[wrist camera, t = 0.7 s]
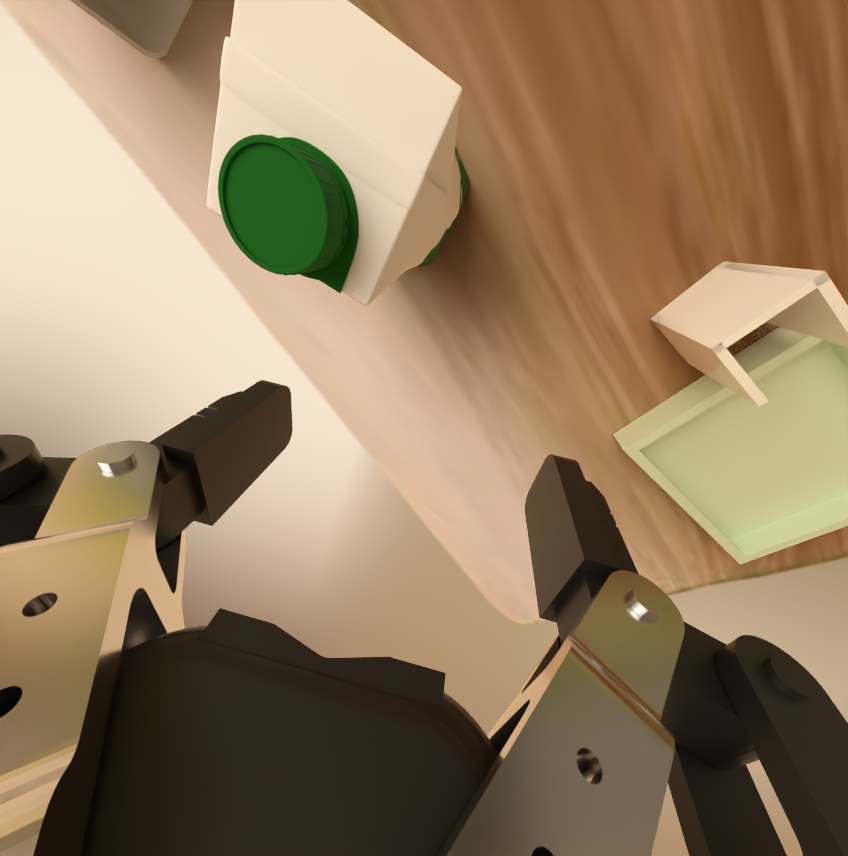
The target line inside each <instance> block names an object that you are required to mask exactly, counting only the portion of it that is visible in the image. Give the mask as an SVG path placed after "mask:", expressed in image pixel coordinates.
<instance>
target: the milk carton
mask: <svg viewBox="0 0 848 856" xmlns="http://www.w3.org/2000/svg"><path fill="white" fill-rule="evenodd" d="M220 81H221V85H220V93H219V101H218V109H217V117H216V126H215V134H214V142H213V151H212V159H211V168H210V176H209V185H208V194H207V203H206V205H207V206H208V208H209V209H210V210H212V211H213V212H215V213H216V214H218V215H220V216H221V217H223V219H224V222H225V224H226V227H227V229H228V231H229V233H230V235H231V236H232V238H233V240H234V241H235V243H236V244H237V245H238V247H239V248H240V249H241V251H242V252H243V253H244V254H245V255H246V256H247V257H248V258H249V259H250V260H252V261H253V262H254V263H255V264H257V265H258V266H260V267H261V268H263V269H266V270H268V271H270V272H273V273H276V274H283V275H296V274H301V275H303V276H305V277H308V278H312V279H317V280H320V281H322V282H323V283H325V284H326V285H328V286H329V287H331V288H333V289H334V290H336V291H337V292H339V293H341V291H343V292H344V293H346V294H347V295H349V296H350V297H352V298H353V299H355V300H356V301H358V302H360V303H361V304H363V305H365V306H367V305H368V304H369V303H370V302H371V301H373V300H374V299H375V298H376V297H377V296H378V295H379V294H380V293H381V292H382V291H384V290H385V289H386V288H387V287H388V286H389V285H390V284H391V283H392V282H394V281H395V280H396V279H397V278H398V277H399V276H400V275H402V274H403V273H404V272H405V271H406V270H409V269H411V268H413V267H419V266H426V265H427V264H428V263H429V262H430V261H431V260H432V259H433V258H434V257H435V255H436V254H437V252H438V250H439V249H440V247H441V245H442V244H443V242H444V240H445V238H446V236H447V235H448V233H449V231H450V229H451V227H452V226H453V224H454V222H455V220H456V218H457V216H458V214H459V211H460V209H461V206H462V203H463V200H464V196H465V193H466V190H467V187H468V184H469V181H470V180H469V177H468V175H467V173H466V170H465V168H464V166H463V163H462V161H461V158H460V156H459V153H458V151H457V148H456V146H455V143H456V134H457V126H458V118H459V109H460V101H461V94H462V87H461V86H459V85H458V84H457V83H455V82H454V81H453V80H452V79H450V78H449V77H448V76H446V75H445V74H444V73H442V72H441V71H440V70H438V69H437V68H436V67H434V66H433V65H432V64H431V63H429V62H428V61H427V60H425V59H424V58H423V57H421V56H420V55H419V54H417V53H416V52H415V51H413V50H412V49H411V48H410V47H408V46H407V45H406V44H404V43H403V42H402V41H400V40H399V39H398V38H396V37H395V36H394V35H392V34H391V33H390V32H389V31H387V30H386V29H385V28H383V27H382V26H381V25H379V24H378V23H377V22H375V21H374V20H373V19H371V18H370V17H369V16H368V15H366V14H365V13H364V12H362V11H361V10H360V9H358V8H357V7H356V6H354V5H353V4H352V3H350V2H349V1H348V0H235V4H234V12H233V19H232V27H231V34H230V38H229V37H227V36H226V37H225V40H224V45H223V52H222V58H221V68H220Z"/></svg>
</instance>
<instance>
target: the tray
mask: <svg viewBox="0 0 848 856" xmlns="http://www.w3.org/2000/svg"><path fill="white" fill-rule="evenodd" d="M733 357H734V359H735V360H736V361H737V362H738V363H739V365H740V366H741V367H742V368H743V370H744V371H745V372H746V373H747V375H748V376H749V377H750V378H751V380H752V381H753V382H754V383H755V385H756V386H757V387H758V388H759V390H760V391H761V392H762V393H763V395H764V396H765V397H766V398H767V400H768V401H769V402H767V403H765V404H763V405H762V406H760V407H758V406H757V405H755V404H753V403H752V402H750V401H748V400H747V399H745V398H744V397H742V396H740V395H739V394H737V393H735V392H734V391H732V390H730V389H729V388H727V387H726V386H724V385H722V384H721V383H719V382H717V381H716V380H714V379H712V378H711V377H709V376H708V375H706V374H705V375H704V376H702V377H701V378H699V379H698V380H696V381H695V382H693V383H691V384H690V385H688V386H687V387H685V388H684V389H682V390H681V391H679V392H678V393H676V394H674V395H673V396H671V397H670V398H668V399H667V400H665V401H664V402H662V403H661V404H659V405H658V406H656V407H654V408H653V409H651V410H650V411H648V412H647V413H645V414H644V415H642V416H641V417H639V418H637V419H636V420H634V421H633V422H631V423H630V424H628V425H627V426H625V427H624V428H622V429H620V430H619V431H617V432H616V433H614V434H613V436H614V437H615V439H616V440H617V442H618V443H619V445H620V446H621V448H622V449H623V450H624V451H625V452H626V453H627V454H628V455H629V456H630V457H631V458H632V459H633V460H634V461H635V462H636V463H637V464H638V465H639V466H640V467H641V468H642V469H643V470H644V471H645V472H646V473H647V474H648V475H649V476H650V477H651V478H652V479H653V480H654V481H655V482H656V483H657V484H658V485H659V486H660V487H661V488H662V489H663V490H664V491H665V492H666V493H667V494H669V495H670V496H671V497H672V498H673V499H674V500H675V501H676V502H677V503H678V504H679V505H680V506H681V507H682V508H683V509H684V510H685V511H686V512H687V513H688V514H689V515H690V516H691V517H692V518H693V519H694V520H695V521H696V522H697V523H698V524H699V525H700V526H701V527H702V528H703V529H704V530H705V531H706V532H707V533H708V534H709V535H710V536H711V537H712V538H713V539H715V540H716V541H717V542H718V543H719V544H720V545H721V546H722V547H723V548H724V549H725V550H726V551H727V552H728V553H729V554H730V555H731V556H732V557H733V558H734V559H735V560H736V561H737V562H738V563H739V564H743V563H746V562H749V561H751V560H754V559H757V558H760V557H762V556H765V555H768V554H771V553H773V552H776V551H779V550H782V549H784V548H787V547H790V546H793V545H796V544H798V543H801V542H804V541H807V540H809V539H812V538H815V537H818V536H820V535H823V534H826V533H829V532H831V531H834V530H837V529H840V528H843V527H845V526H848V347H845V346H842V345H839V344H835V343H832V342H829V341H825V340H822V339H818V338H815V337H812V336H808V335H805V334H802V333H798V332H795V331H792V330H788V329H785V328H782V327H778V328H776V329H775V330H773V331H772V332H770V333H769V334H767V335H766V336H764V337H762V338H761V339H759V340H758V341H756V342H755V343H753V344H752V345H750V346H749V347H747V348H745V349H744V350H742V351H741V352H739V353H738V354H736V355H735V356H733Z"/></svg>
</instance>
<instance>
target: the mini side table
mask: <svg viewBox="0 0 848 856" xmlns="http://www.w3.org/2000/svg"><path fill="white" fill-rule="evenodd" d="M650 320H651V321H652V322H653V323H654V324H655V326H656V327H657V328H658V329H659V330H660V331H661V333H662V334H663V335H664V336H665V337H666V338H667V340H668V341H669V342H670V343H671V344H672V345H673V347H674V348H675V349H676V350H677V351H678V352H679V354H680V355H681V356H682V357H683V358H684V359H685V361H686V362H687V363H688V364H690V365H691V366H693V367H694V368H696V369H698V370H699V371H701V372H703V373H704V374H706V375H708V376H709V377H711V378H712V379H714V380H716V381H717V382H719V383H721V384H722V385H724V386H726V387H727V388H729V389H730V390H732V391H734V392H735V393H737V394H739V395H740V396H742V397H744V398H745V399H747V400H748V401H750V402H752V403H753V404H755V405H757V406H758V407H760V406H762V405H763V404H765V403H767V402H769V401H768V400H767V398H766V397H765V396H764V395H763V393H762V392H761V391H760V390H759V388H758V387H757V386H756V385H755V383H754V382H753V381H752V380H751V378H750V377H749V376H748V375H747V373H746V372H745V371H744V370H743V368H742V367H741V366H740V365H739V363H738V362H737V361H736V360H735V359H734V357H733V356H732V355H731V354H730V352H729V351H728V350H727V349H726V348H727V347H729V346H730V345H732V344H733V343H735V342H736V341H738V340H739V339H741V338H742V337H744V336H745V335H747V334H748V333H750V332H751V331H753V330H754V329H756V328H757V327H759V326H760V325H762V324H763V323H768V324H772V325H775V326H778V327H782V328H785V329H788V330H792V331H795V332H798V333H802V334H805V335H808V336H812V337H815V338H818V339H822V340H825V341H829V342H832V343H835V344H839V345H842V346H845V347H848V305H847V304H846V302H845V301H844V299H843V298H842V296H841V294H840V293H839V291H838V290H837V288H836V287H835V285H834V284H833V282H832V281H831V279H830V277H829V276H828V274H827V273H826V271H818V270H808V269H798V268H787V267H777V266H766V265H756V264H745V263H735V262H724V261H723V262H722V263H720V264H719V265H718V266H716V267H715V268H714V269H713V270H711V271H710V272H709V273H708V274H706V275H705V276H704V277H703V278H701V279H700V280H699V281H697V282H696V283H695V284H694V285H692V286H691V287H690V288H689V289H687V290H686V291H685V292H684V293H682V294H681V295H680V296H678V297H677V298H676V299H675V300H673V301H672V302H671V303H670V304H668V305H667V306H666V307H664V308H663V309H662V310H661V311H659V312H658V313H657V314H656V315H654V316H653V317H652V318H651V319H650Z"/></svg>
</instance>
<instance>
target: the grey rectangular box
mask: <svg viewBox="0 0 848 856" xmlns="http://www.w3.org/2000/svg"><path fill="white" fill-rule="evenodd" d="M71 1H72V2H73V3H75V4H76V5H77V6H79V7H80V8H81V9H83V10H84V11H85V12H87V13H88V14H90V15H91V16H92V17H94V18H95V19H96V20H98V21H99V22H100V23H102V24H103V25H105V26H106V27H107V28H109V29H110V30H111V31H113V32H114V33H115V34H117V35H118V36H119V37H121V38H122V39H124V40H125V41H126V42H128V43H129V44H130V45H132V46H133V47H134V48H136V49H137V50H139V51H140V52H142V53H143V54H145V55H147V56H150V57H154V58H161V57H165V56H166V55H167V53H168V51H169V49H170V47H171V45H172V43H173V41H174V39H175V37H176V35H177V33H178V31H179V29H180V27H181V25H182V23H183V21H184V19H185V17H186V15H187V13H188V11H189V9H190V7H191V5H192V2H193V0H71Z"/></svg>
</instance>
